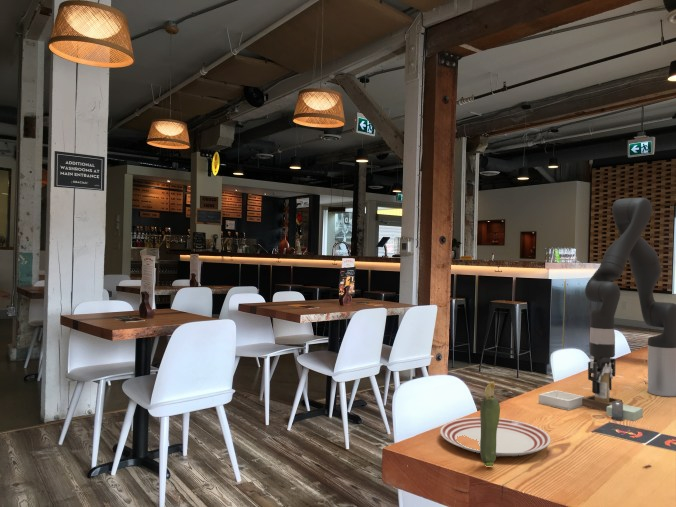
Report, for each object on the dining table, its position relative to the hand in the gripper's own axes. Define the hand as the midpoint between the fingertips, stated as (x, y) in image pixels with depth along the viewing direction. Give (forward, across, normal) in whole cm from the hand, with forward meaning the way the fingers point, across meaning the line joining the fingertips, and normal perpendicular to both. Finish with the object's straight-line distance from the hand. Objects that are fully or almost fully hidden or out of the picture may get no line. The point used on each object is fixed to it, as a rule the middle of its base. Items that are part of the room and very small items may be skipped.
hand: (601, 391), depth 174 cm
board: (+5, +5, +9) cm, 12 cm away
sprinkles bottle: (+5, 0, 0) cm, 5 cm away
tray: (+5, +8, -10) cm, 13 cm away
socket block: (+5, 0, 0) cm, 5 cm away
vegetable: (+5, +73, +10) cm, 74 cm away
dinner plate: (+6, +59, 0) cm, 59 cm away
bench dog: (+5, +10, +10) cm, 15 cm away
